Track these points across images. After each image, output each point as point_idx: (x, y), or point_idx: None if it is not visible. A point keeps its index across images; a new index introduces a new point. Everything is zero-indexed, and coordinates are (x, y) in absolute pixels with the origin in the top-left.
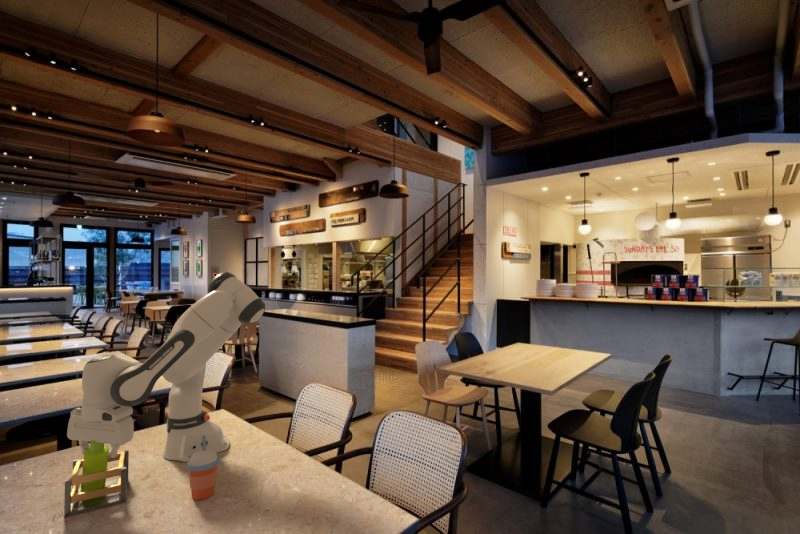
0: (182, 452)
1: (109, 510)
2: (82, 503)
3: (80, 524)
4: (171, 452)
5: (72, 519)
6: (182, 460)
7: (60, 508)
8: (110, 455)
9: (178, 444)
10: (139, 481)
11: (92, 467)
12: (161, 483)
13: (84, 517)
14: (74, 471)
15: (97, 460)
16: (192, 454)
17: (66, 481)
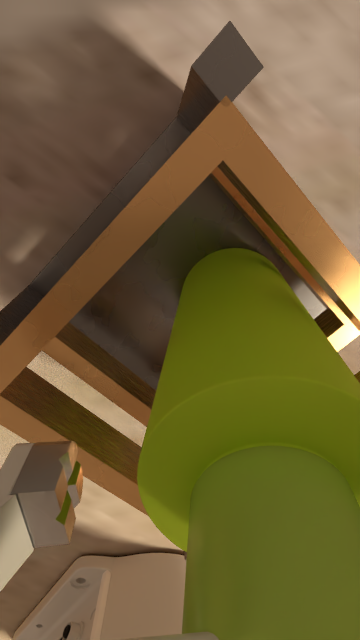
0: (98, 597)
1: (26, 219)
2: (192, 207)
3: (39, 68)
4: (152, 586)
5: (131, 97)
6: (93, 560)
7: (291, 164)
8: (26, 461)
9: (115, 637)
10: (129, 426)
11: (195, 324)
12: (22, 438)
13: (86, 131)
14: (317, 234)
15: (165, 380)
16: (84, 594)
17: (218, 38)
